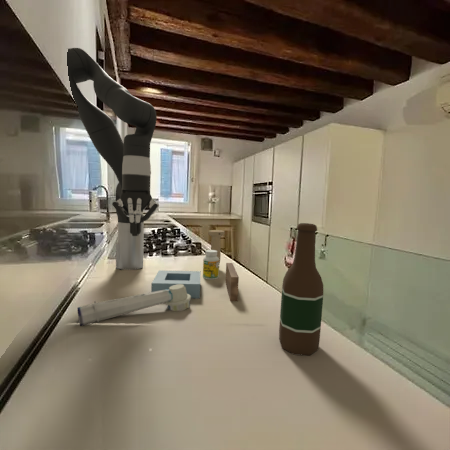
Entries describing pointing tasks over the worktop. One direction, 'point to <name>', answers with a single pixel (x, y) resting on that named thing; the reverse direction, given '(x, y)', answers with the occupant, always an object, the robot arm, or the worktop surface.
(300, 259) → the beer bottle
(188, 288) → the socket block
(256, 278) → the worktop surface
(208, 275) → the supplement bottle
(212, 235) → the handle
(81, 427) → the worktop surface
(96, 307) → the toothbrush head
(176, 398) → the worktop surface
